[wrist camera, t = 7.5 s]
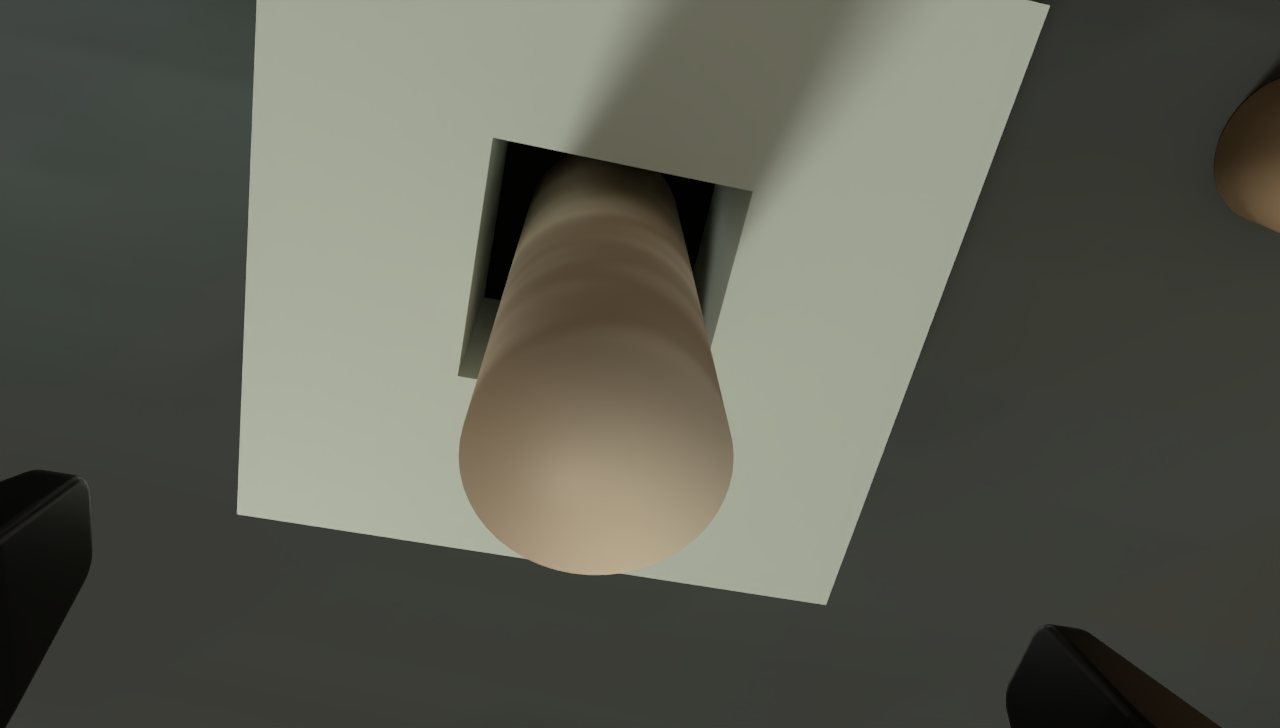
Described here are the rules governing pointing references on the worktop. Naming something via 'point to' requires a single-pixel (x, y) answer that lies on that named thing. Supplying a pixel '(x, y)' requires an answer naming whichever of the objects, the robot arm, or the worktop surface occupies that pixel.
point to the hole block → (634, 136)
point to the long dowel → (598, 382)
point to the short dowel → (1252, 159)
